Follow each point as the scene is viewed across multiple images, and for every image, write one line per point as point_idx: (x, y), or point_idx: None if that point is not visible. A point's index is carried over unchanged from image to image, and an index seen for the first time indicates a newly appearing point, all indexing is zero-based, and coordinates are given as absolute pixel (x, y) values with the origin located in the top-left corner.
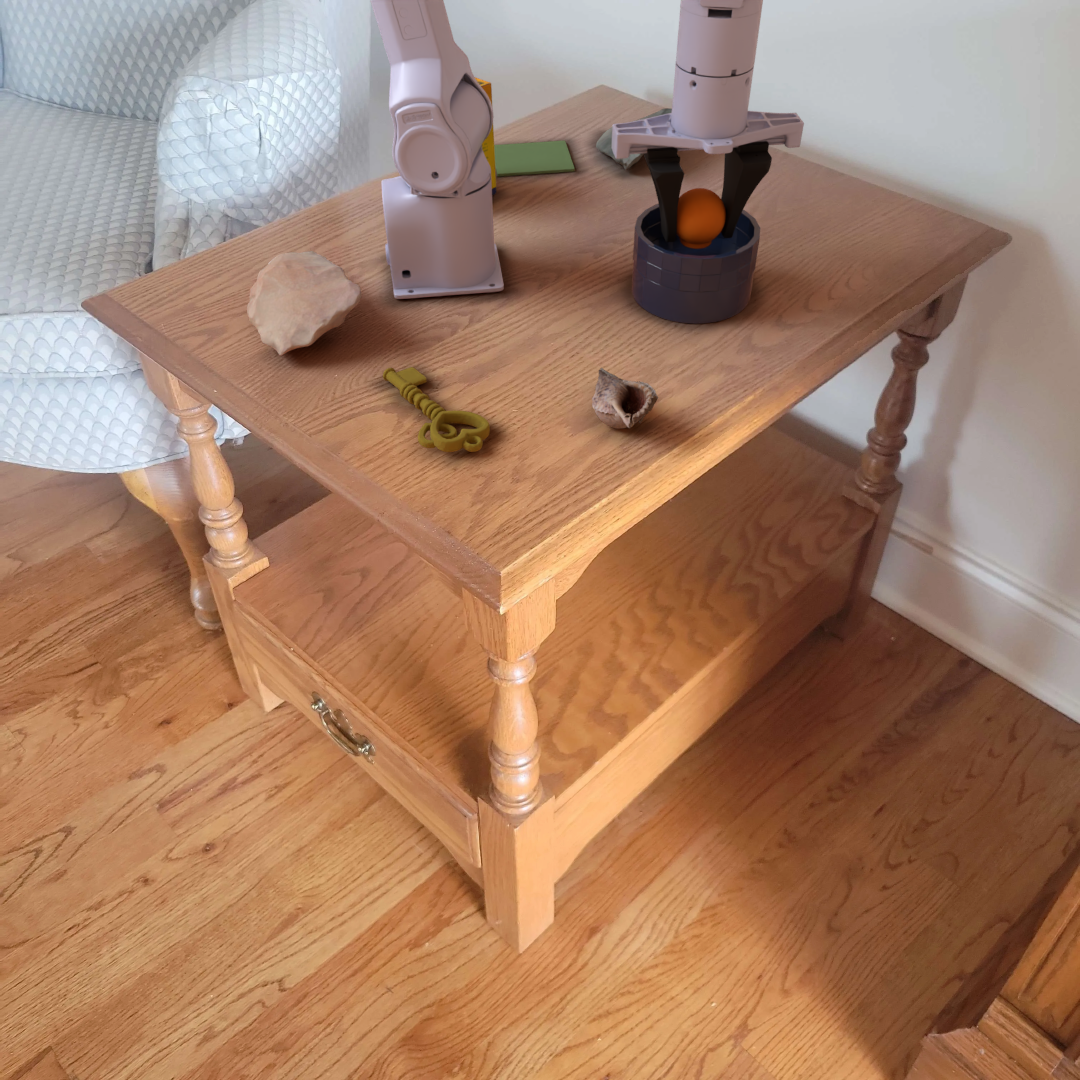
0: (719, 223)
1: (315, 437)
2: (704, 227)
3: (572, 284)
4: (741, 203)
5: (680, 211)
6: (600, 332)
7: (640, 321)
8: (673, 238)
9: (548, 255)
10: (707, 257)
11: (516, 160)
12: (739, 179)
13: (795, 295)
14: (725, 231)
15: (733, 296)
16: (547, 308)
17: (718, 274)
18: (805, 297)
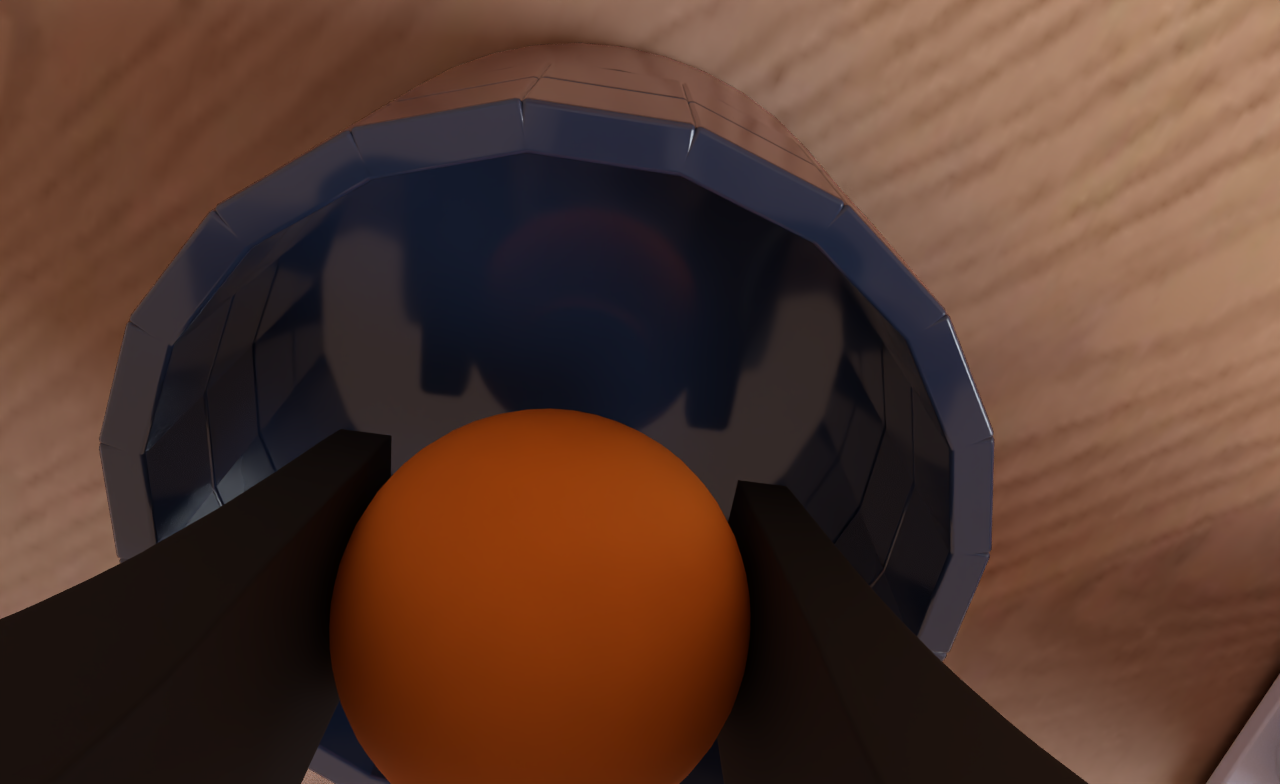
0: (427, 472)
1: None
2: (571, 450)
3: (1055, 531)
4: (175, 561)
5: (732, 637)
6: (1163, 133)
7: (927, 171)
8: (757, 489)
9: (1030, 722)
10: (647, 136)
11: None
12: (71, 766)
13: (66, 171)
14: (375, 458)
15: (440, 79)
16: (1262, 396)
17: (554, 77)
18: (14, 137)
